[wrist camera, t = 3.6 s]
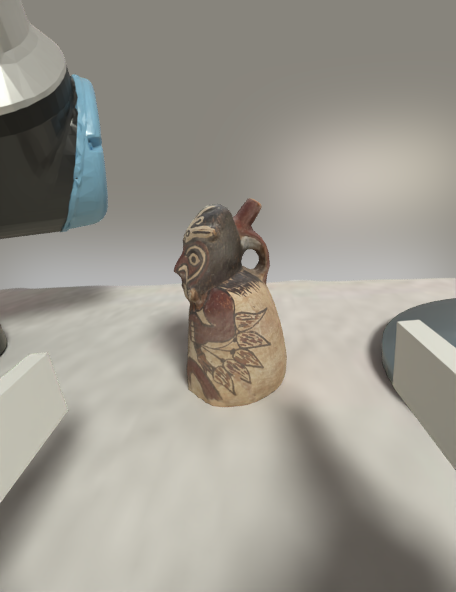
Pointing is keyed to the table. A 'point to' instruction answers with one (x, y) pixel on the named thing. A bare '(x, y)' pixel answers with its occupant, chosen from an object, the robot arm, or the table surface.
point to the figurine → (229, 310)
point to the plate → (436, 315)
